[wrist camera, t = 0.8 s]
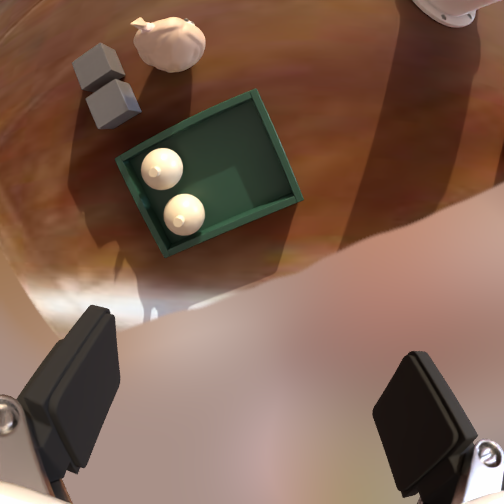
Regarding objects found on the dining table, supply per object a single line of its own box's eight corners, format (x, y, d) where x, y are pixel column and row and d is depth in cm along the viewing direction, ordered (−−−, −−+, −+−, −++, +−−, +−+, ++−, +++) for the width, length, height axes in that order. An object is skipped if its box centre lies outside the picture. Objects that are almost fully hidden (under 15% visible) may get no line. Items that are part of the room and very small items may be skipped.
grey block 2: (129, 83, 29) (115, 78, 25) (141, 112, 30) (128, 109, 27) (101, 101, 30) (85, 98, 26) (113, 129, 31) (97, 129, 27)
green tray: (255, 91, 30) (256, 88, 27) (300, 195, 34) (304, 200, 32) (123, 156, 32) (114, 158, 30) (170, 250, 36) (164, 258, 34)
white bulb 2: (197, 184, 33) (187, 193, 28) (214, 219, 34) (207, 234, 29) (162, 200, 34) (148, 212, 29) (180, 234, 35) (168, 251, 30)
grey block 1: (114, 50, 27) (100, 42, 23) (125, 75, 29) (111, 69, 25) (87, 67, 28) (71, 62, 24) (98, 93, 29) (81, 90, 25)
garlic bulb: (190, 18, 26) (174, -11, 19) (217, 58, 28) (208, 36, 21) (140, 48, 27) (112, 29, 20) (165, 89, 29) (141, 77, 22)
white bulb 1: (176, 140, 31) (163, 141, 26) (193, 175, 33) (183, 183, 28) (142, 158, 32) (124, 163, 27) (159, 192, 33) (143, 203, 28)
